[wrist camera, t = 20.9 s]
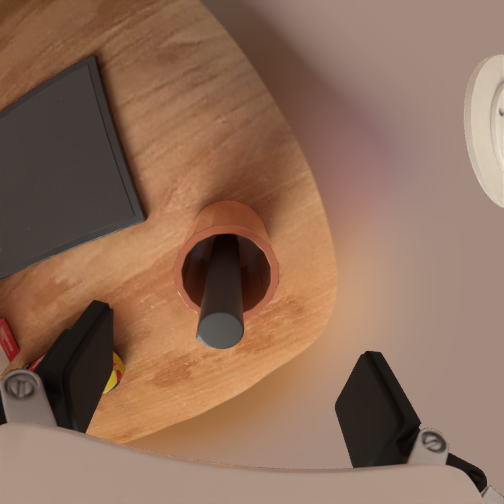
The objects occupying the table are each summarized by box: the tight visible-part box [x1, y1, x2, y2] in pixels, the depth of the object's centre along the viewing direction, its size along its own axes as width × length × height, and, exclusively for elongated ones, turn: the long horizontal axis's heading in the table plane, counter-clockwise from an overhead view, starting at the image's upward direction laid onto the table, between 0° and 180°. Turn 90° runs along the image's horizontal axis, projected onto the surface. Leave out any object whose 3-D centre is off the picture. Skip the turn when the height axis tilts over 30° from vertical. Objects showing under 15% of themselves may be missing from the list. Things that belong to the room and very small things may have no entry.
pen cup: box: [173, 200, 279, 320], centre depth 23 cm, size 6×6×8 cm
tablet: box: [0, 55, 147, 279], centre depth 23 cm, size 22×15×1 cm
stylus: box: [196, 234, 244, 349], centre depth 20 cm, size 2×2×13 cm
